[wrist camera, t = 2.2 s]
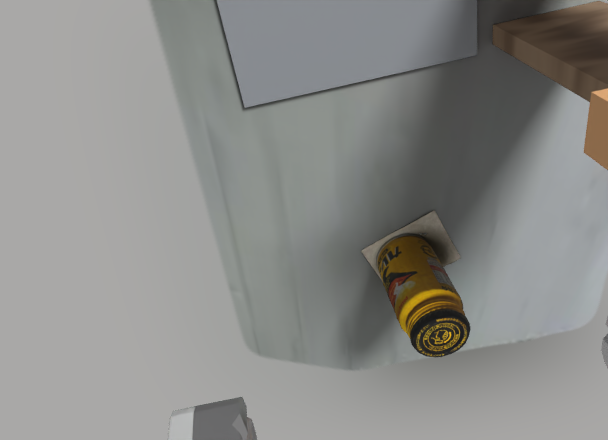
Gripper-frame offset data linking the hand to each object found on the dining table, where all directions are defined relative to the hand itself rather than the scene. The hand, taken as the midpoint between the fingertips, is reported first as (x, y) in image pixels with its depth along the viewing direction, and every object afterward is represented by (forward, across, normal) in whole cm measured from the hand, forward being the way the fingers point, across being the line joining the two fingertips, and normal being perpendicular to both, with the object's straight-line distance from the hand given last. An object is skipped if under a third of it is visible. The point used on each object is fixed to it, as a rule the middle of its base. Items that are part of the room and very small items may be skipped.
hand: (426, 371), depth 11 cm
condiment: (+35, +9, -26) cm, 45 cm away
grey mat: (+35, +6, 0) cm, 36 cm away
